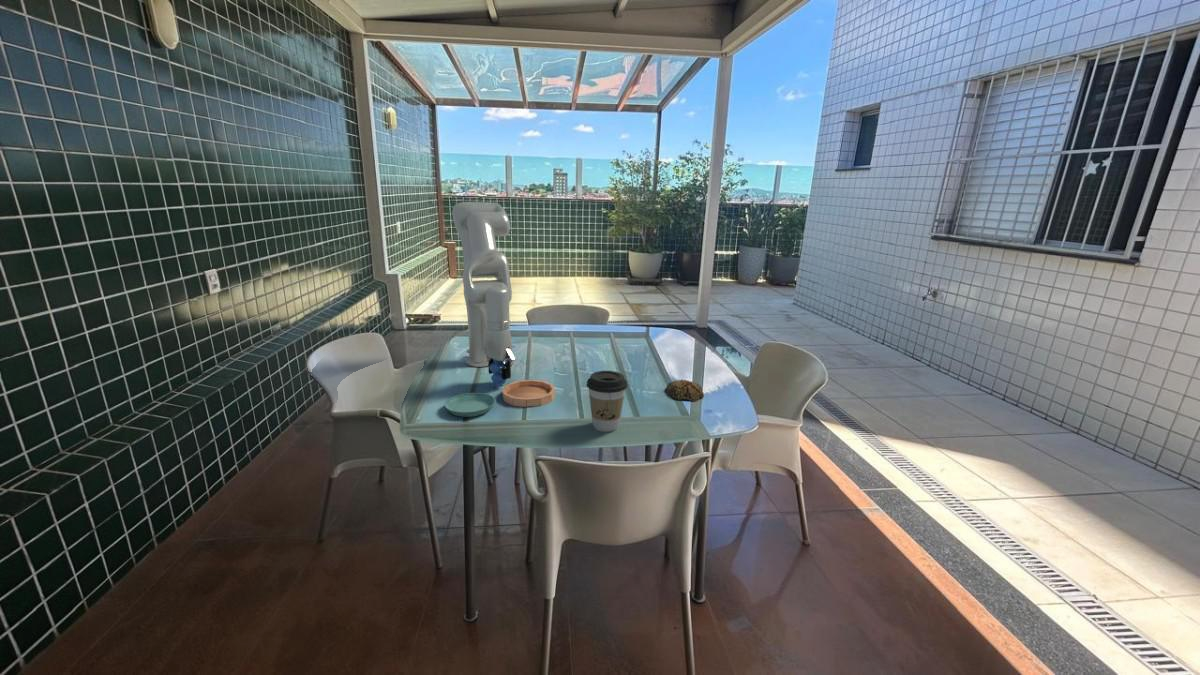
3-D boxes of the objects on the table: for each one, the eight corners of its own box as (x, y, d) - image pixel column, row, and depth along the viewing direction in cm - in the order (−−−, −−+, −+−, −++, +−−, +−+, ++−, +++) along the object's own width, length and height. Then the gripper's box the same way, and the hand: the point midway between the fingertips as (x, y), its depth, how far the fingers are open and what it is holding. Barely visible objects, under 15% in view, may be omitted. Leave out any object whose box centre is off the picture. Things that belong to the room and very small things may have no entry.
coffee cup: (586, 435, 131) (587, 383, 127) (585, 417, 142) (586, 369, 138) (628, 435, 131) (630, 383, 127) (624, 417, 142) (625, 369, 138)
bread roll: (664, 387, 167) (665, 373, 166) (700, 387, 167) (701, 374, 166) (669, 402, 155) (670, 387, 153) (708, 402, 155) (709, 388, 154)
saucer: (505, 405, 149) (505, 397, 148) (475, 424, 136) (474, 415, 135) (466, 397, 155) (466, 389, 154) (434, 414, 142) (433, 406, 141)
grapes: (498, 377, 171) (495, 344, 168) (515, 378, 169) (513, 345, 166) (482, 389, 160) (479, 355, 157) (501, 391, 159) (498, 356, 155)
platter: (492, 396, 155) (492, 388, 155) (532, 383, 167) (532, 376, 166) (525, 411, 145) (525, 403, 144) (565, 396, 156) (565, 389, 156)
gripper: (473, 321, 162) (475, 371, 167) (504, 332, 150) (506, 385, 156) (491, 317, 167) (493, 366, 172) (523, 328, 156) (524, 379, 161)
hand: (499, 375), depth 164 cm, fingers closed on grapes, 6 cm apart
